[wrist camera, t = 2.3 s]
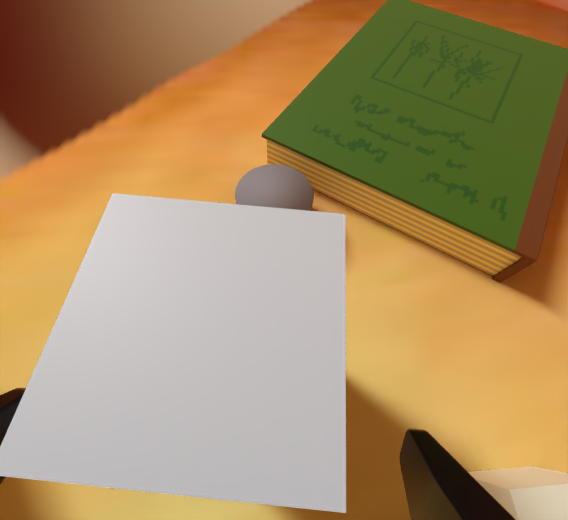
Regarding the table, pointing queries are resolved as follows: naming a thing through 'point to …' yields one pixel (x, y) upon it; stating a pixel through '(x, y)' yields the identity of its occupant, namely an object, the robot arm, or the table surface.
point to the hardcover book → (436, 132)
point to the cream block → (528, 491)
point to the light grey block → (196, 358)
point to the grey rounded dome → (275, 188)
